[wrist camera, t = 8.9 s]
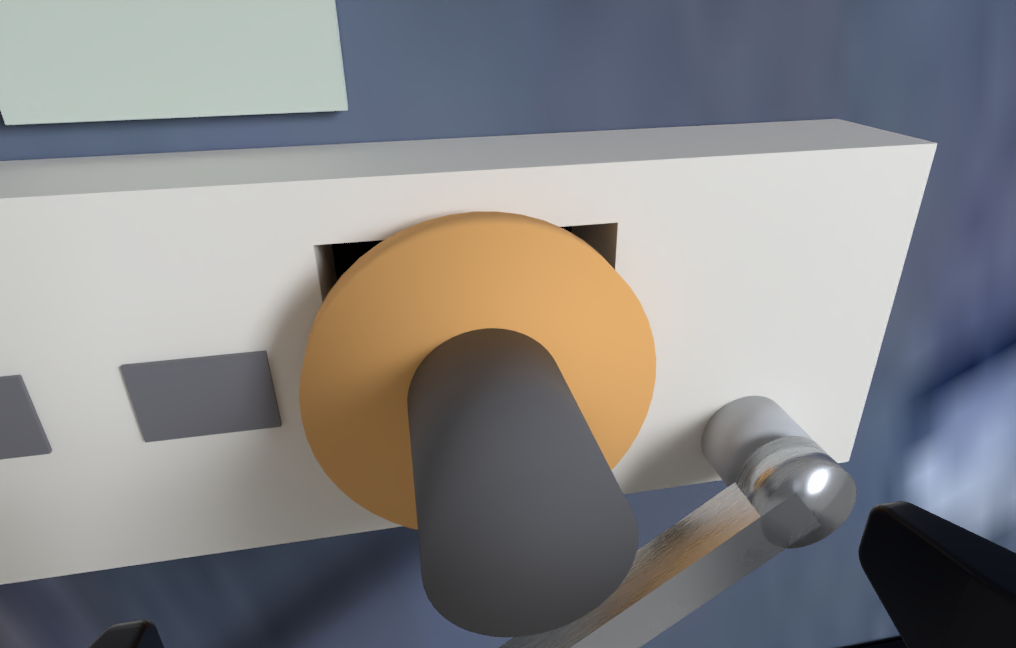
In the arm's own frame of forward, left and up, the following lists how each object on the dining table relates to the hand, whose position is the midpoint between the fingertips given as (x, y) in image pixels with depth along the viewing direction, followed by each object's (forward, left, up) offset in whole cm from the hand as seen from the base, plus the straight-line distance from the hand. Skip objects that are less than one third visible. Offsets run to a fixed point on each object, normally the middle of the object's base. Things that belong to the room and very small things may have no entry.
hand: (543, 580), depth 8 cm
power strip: (0, 0, -8) cm, 8 cm away
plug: (0, 0, -8) cm, 8 cm away
